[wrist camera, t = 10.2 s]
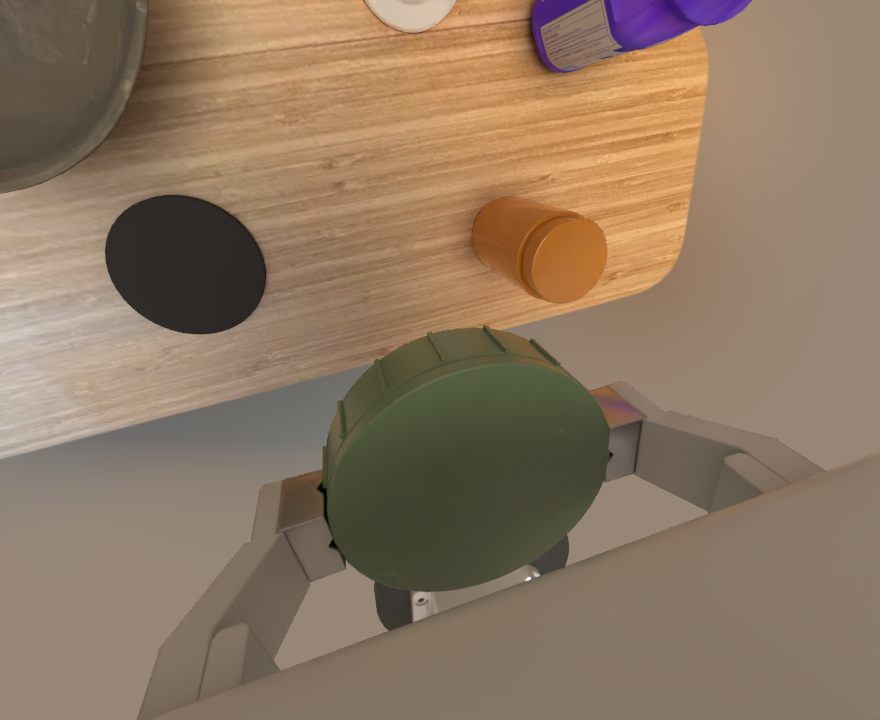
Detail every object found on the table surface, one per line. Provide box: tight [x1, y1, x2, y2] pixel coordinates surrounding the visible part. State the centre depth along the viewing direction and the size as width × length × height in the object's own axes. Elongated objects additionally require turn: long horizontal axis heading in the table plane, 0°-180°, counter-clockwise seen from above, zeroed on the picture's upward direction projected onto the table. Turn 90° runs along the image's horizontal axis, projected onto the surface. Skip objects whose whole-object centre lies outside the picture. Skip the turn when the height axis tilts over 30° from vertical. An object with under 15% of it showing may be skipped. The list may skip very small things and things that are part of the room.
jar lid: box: [323, 325, 610, 592], centre depth 10 cm, size 7×7×2 cm
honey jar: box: [472, 197, 607, 303], centre depth 30 cm, size 6×6×11 cm
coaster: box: [105, 195, 266, 334], centre depth 29 cm, size 10×10×1 cm
